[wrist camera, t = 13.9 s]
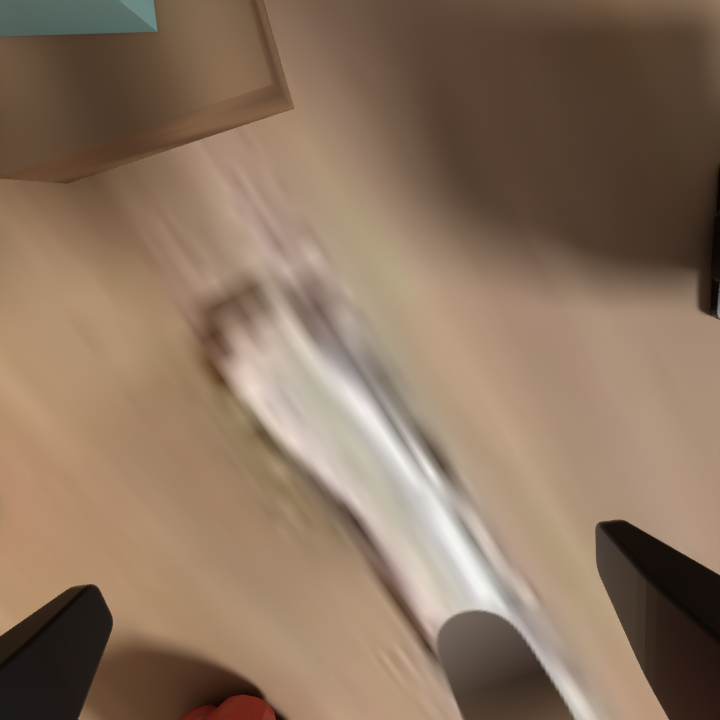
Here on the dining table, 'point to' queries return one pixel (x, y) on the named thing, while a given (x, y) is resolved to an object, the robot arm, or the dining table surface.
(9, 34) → the teal block
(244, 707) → the vegetable
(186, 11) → the walnut block
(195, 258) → the dining table surface
